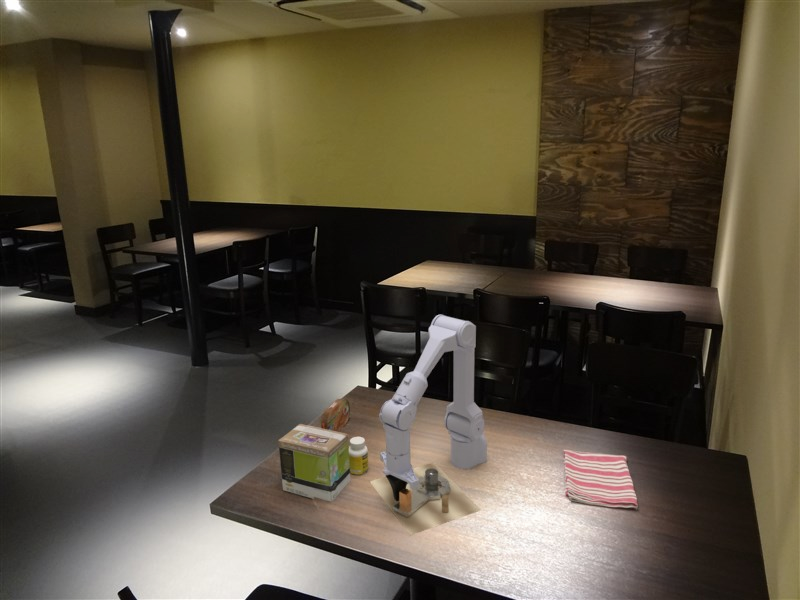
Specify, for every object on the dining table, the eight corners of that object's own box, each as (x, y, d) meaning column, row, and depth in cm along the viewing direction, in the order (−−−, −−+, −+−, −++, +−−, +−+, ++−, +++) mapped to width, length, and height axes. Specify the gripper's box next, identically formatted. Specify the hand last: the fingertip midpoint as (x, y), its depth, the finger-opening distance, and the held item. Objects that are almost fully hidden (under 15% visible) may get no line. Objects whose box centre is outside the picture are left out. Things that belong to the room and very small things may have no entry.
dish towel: (564, 504, 136) (565, 491, 135) (562, 453, 158) (562, 442, 157) (638, 514, 132) (640, 501, 131) (626, 461, 154) (627, 449, 153)
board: (433, 465, 153) (433, 462, 152) (481, 513, 133) (481, 509, 132) (369, 484, 145) (369, 481, 144) (410, 538, 125) (410, 535, 124)
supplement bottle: (365, 479, 147) (364, 446, 144) (345, 477, 148) (344, 444, 145) (370, 468, 152) (369, 435, 149) (351, 466, 153) (350, 434, 150)
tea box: (351, 483, 145) (349, 432, 141) (331, 505, 137) (328, 452, 133) (303, 470, 152) (300, 421, 147) (281, 491, 143) (276, 439, 139)
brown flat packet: (329, 441, 166) (327, 416, 163) (320, 440, 167) (318, 414, 164) (351, 418, 179) (350, 394, 177) (342, 417, 180) (341, 393, 178)
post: (434, 484, 143) (434, 467, 141) (440, 491, 140) (440, 473, 138) (423, 487, 141) (422, 470, 140) (429, 494, 138) (429, 477, 137)
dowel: (446, 508, 133) (446, 493, 132) (449, 512, 132) (449, 497, 131) (440, 510, 133) (440, 495, 131) (443, 514, 131) (444, 499, 130)
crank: (427, 473, 146) (427, 457, 145) (456, 486, 141) (456, 469, 140) (385, 506, 134) (385, 488, 132) (415, 521, 128) (415, 502, 127)
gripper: (368, 440, 134) (370, 489, 138) (399, 469, 122) (400, 522, 126) (393, 432, 138) (395, 480, 141) (426, 459, 126) (426, 511, 129)
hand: (399, 499), depth 134 cm, fingers closed
